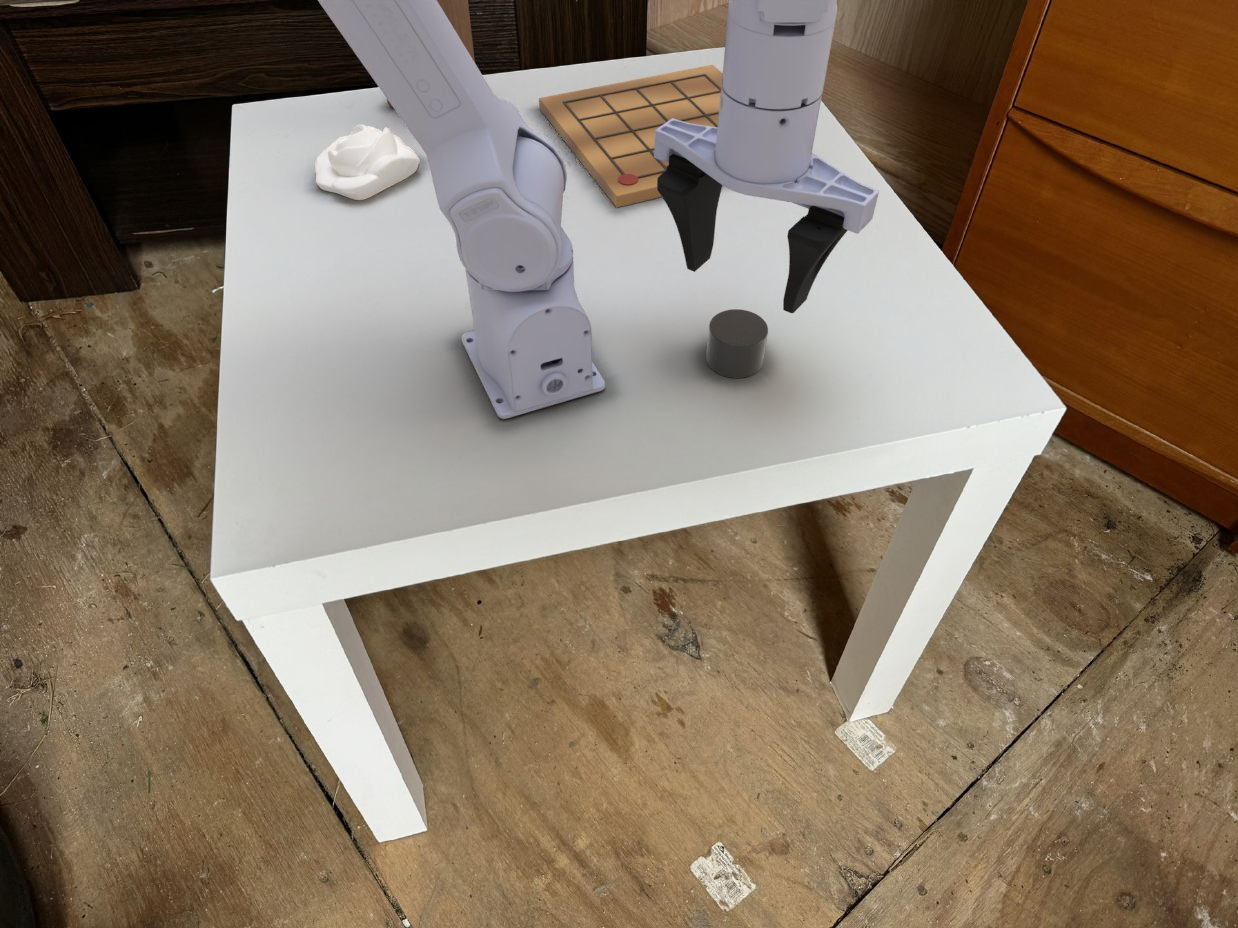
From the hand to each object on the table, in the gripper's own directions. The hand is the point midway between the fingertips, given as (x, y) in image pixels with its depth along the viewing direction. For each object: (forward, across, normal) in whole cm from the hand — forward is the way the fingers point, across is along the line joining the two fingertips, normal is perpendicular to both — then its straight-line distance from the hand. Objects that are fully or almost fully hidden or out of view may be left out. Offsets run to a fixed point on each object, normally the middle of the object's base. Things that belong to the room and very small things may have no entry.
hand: (745, 283), depth 60 cm
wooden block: (+7, +45, -14) cm, 48 cm away
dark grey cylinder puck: (+7, 0, 0) cm, 7 cm away
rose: (+7, +41, -2) cm, 41 cm away
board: (+7, +23, -25) cm, 34 cm away
